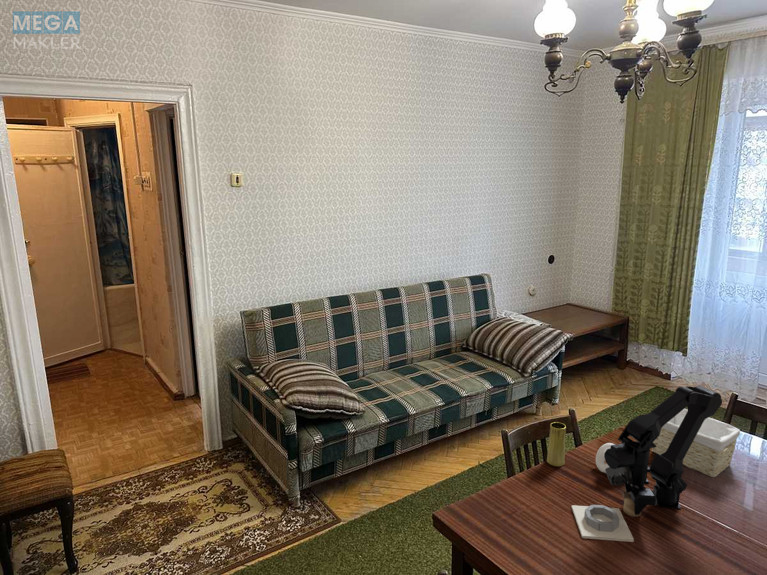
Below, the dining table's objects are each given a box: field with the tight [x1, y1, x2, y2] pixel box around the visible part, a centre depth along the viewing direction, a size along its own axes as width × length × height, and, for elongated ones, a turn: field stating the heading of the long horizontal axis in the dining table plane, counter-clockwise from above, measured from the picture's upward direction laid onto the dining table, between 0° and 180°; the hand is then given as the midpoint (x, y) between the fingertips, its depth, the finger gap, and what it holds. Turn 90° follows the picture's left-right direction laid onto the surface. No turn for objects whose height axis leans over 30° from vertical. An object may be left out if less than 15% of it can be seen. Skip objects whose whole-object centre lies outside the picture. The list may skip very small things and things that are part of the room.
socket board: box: [571, 504, 635, 543], centre depth 158 cm, size 14×14×3 cm
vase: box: [546, 421, 567, 467], centre depth 190 cm, size 6×6×14 cm
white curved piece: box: [595, 442, 615, 474], centre depth 184 cm, size 11×12×9 cm
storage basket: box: [651, 408, 741, 478], centre depth 191 cm, size 24×16×15 cm
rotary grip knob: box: [621, 491, 643, 518], centre depth 163 cm, size 6×5×6 cm
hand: (632, 507), depth 164 cm, fingers open, 7 cm apart
